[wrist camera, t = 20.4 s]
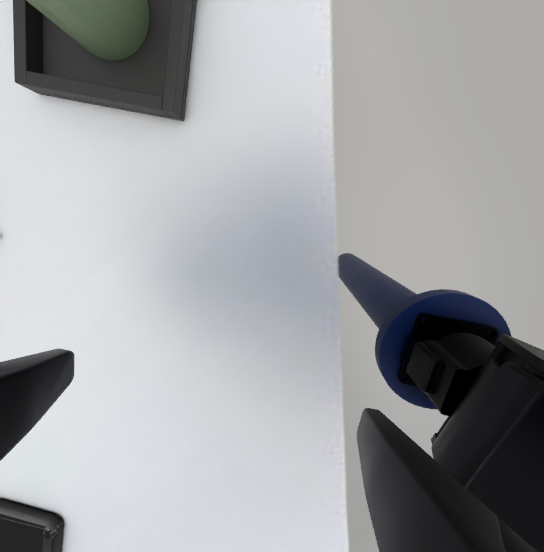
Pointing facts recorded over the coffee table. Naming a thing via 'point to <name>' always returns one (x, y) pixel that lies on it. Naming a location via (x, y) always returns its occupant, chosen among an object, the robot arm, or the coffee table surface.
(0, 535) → the phone
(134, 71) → the tray
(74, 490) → the coffee table surface
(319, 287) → the coffee table surface
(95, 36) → the vase
